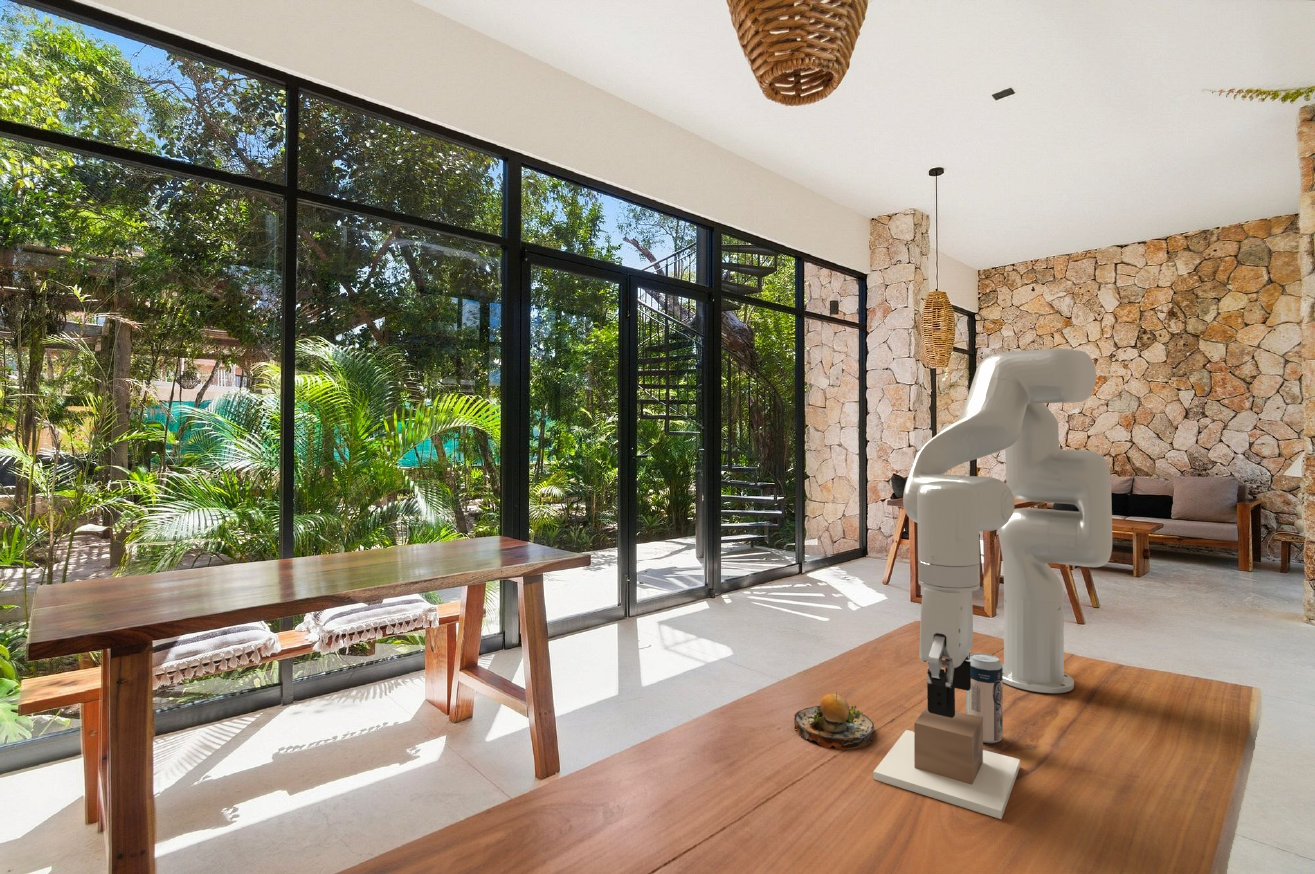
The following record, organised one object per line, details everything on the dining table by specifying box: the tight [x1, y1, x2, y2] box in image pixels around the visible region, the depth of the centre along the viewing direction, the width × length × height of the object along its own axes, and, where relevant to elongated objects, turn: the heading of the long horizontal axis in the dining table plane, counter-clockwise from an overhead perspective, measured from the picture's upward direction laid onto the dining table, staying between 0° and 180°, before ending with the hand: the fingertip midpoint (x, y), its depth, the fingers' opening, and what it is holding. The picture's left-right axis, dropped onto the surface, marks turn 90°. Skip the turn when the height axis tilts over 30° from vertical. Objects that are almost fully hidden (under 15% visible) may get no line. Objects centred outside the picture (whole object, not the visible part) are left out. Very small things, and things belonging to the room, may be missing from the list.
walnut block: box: [913, 705, 984, 785], centre depth 86 cm, size 7×7×6 cm
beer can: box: [966, 652, 1004, 744], centre depth 96 cm, size 5×5×12 cm
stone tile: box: [872, 729, 1021, 820], centre depth 86 cm, size 15×15×1 cm
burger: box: [793, 692, 875, 750], centre depth 99 cm, size 12×12×8 cm
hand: (950, 700), depth 87 cm, fingers open, 9 cm apart
